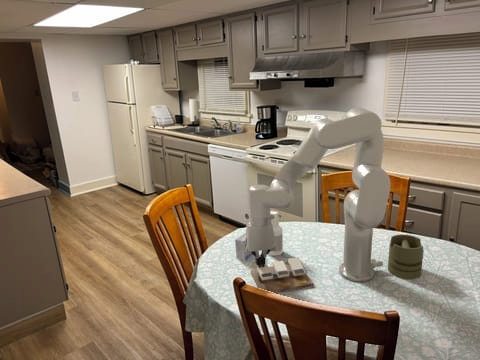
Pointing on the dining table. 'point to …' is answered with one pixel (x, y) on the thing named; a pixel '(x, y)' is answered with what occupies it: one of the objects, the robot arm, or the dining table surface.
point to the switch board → (282, 281)
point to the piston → (405, 256)
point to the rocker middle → (280, 269)
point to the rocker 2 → (296, 266)
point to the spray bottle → (277, 236)
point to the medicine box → (241, 248)
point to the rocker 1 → (265, 272)
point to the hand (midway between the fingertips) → (260, 265)
